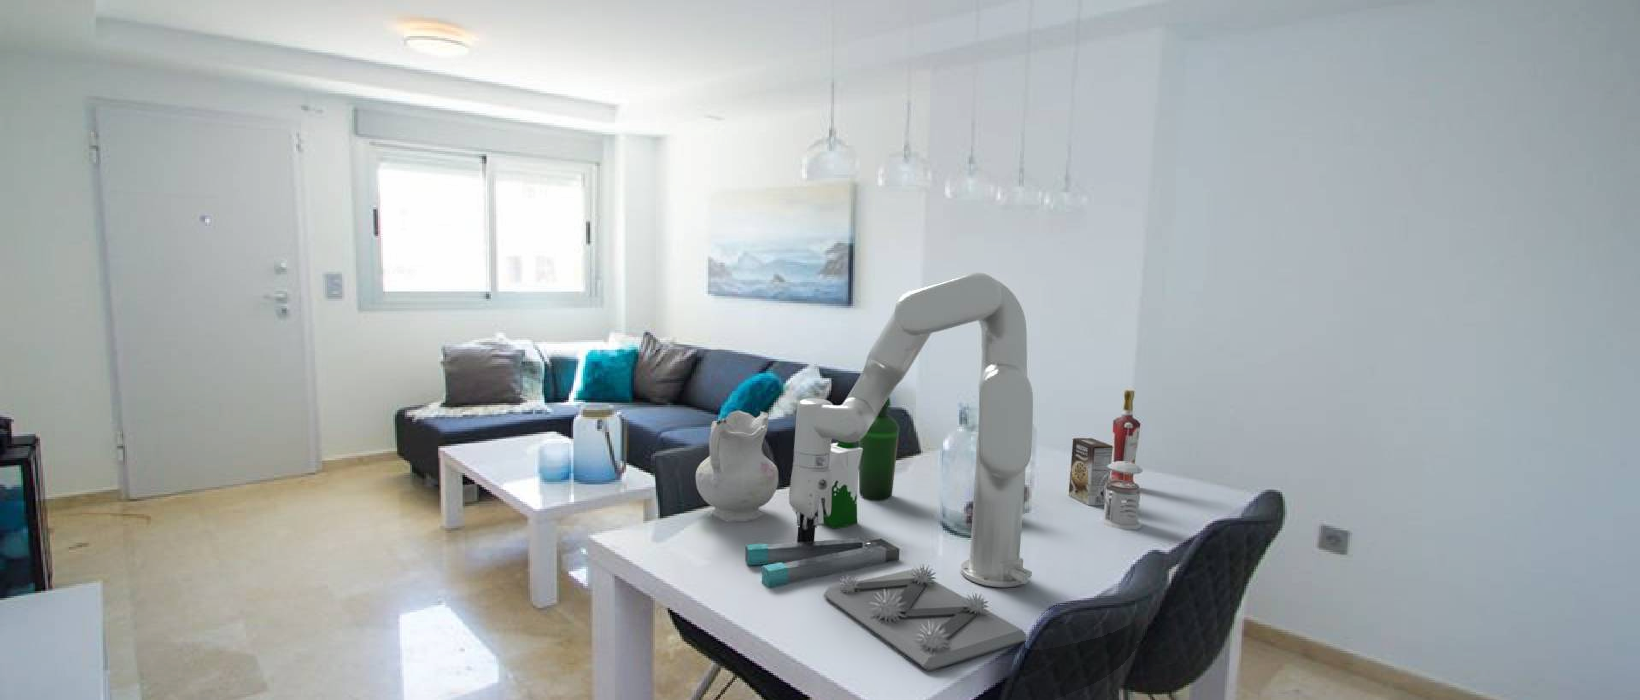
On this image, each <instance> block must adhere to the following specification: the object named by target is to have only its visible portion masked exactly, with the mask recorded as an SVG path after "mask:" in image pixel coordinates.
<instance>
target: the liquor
mask: <svg viewBox="0 0 1640 700" xmlns="http://www.w3.org/2000/svg"><path fill="white" fill-rule="evenodd" d="M1123 392H1124V393H1123V397H1124V398H1123V399H1124V401H1123V407H1122V413H1121V416H1119V417H1116V418H1115V419H1113V420H1112V446H1113V451H1112V462H1111V463H1113V462H1117V461H1125V456H1126V461H1127V462H1131V463H1133V464H1135V465H1136V460H1137V459H1136V458H1137V451H1138V444H1139V437H1140V430H1141V422H1140V421H1138V420H1137V419H1136V418H1134V409H1133V407H1134V406H1133V404H1134V402H1133V401H1134V398H1135V390H1132V389H1125V390H1124V391H1123ZM1126 423H1131V424H1132V425H1133V428H1129V432H1128V428H1126V427H1124V425H1125V424H1126ZM1127 433H1128V444H1127ZM1126 444H1127V455H1126ZM1134 475H1135V474H1127V473H1125V478H1124V473H1119V472H1115V471H1112V470H1111V472H1110V477H1111V476H1115V480H1120V481H1121V480H1123V479H1124V481H1127V482H1128V481H1129V482H1131V483H1135V482H1134ZM1110 479H1112V480H1114V477H1112V478H1110Z"/></svg>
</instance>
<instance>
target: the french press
mask: <svg viewBox="0 0 1640 700" xmlns="http://www.w3.org/2000/svg"><path fill="white" fill-rule="evenodd" d="M1124 427H1126V428H1128V432H1129V428H1133V425H1132V424H1131V423H1126V424H1125V425H1124ZM1127 444H1128V433H1127ZM1127 444H1126V455H1127ZM1107 467H1108V469H1110V470H1112V471H1115V472H1119V473H1124V478H1125V473H1127V474H1134V475H1136V474H1137V475H1138V474H1141V473H1142V472H1143V471H1144V470H1143V469H1142V468H1141V466H1139V465H1137V464H1136V463H1135V464H1133V463H1131V462H1127V461H1126V456H1125V461H1117V462H1113V463H1112V462H1111V464H1109V465H1108V466H1107ZM1107 475H1109V479H1110V478H1112V477H1114V480H1112V479H1110V481H1109V479H1108V481H1109V482H1108V481H1107V482H1108V484H1109V486H1108V487H1107V488H1106V496H1105V487H1106V485H1107V482H1106V484H1105V487H1104V498H1105V501H1103V500H1102V499H1101V495H1100V486H1101V483H1102V481H1103V479H1104V478H1105V477H1106V476H1107ZM1107 475H1105V476H1104V477H1103V479H1102V480H1101V483H1100V485H1099V496H1100V499H1101V500H1102V501H1103V502H1105V505H1104V511H1103V515H1102V516H1101V517H1100V518H1099V522H1100V523H1102V524H1103V525H1105V526H1108V527H1111V528H1116V529H1122V530H1137V529H1140V528H1141V527H1142V523H1140V521H1139V519H1138V517H1139V513H1140V511H1139V508H1140V501H1141V492H1140V491H1139V490H1138V489H1139V488H1140V486H1139V484H1137V483H1135V482H1134V483H1131V482H1129V481H1128V482H1127V481H1124V479H1123V480H1121V481H1120V480H1115V476H1111V473H1110V474H1107ZM1111 491H1112V492H1111ZM1122 501H1124V502H1122ZM1125 501H1126V502H1125ZM1109 506H1110V507H1109ZM1122 506H1125V507H1122ZM1123 511H1125V512H1123Z"/></svg>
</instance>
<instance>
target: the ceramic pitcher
mask: <svg viewBox="0 0 1640 700" xmlns="http://www.w3.org/2000/svg"><path fill="white" fill-rule="evenodd" d="M759 412H760V414H759V415H758V416H757V417H754V416H753V415H752V414H750V413H749V412H744V411H742V410H736V411H735V410H734V411H732V412H729V413H728V414H727V416H726V417H725V418H722V417H721V418H719V419H717V420H713V421H712V422H711V426H710V435H709V441H708V442H709V445H708V449H709V456H708V457H707V458H705V459H704V460H703V461H702V462H700V464H699V465H698V467H697V468H696V471H695V484H696V490H697V491H698V493H699V495H700V496H701V498H702V499H703V501H705V502H706V503H707V504H708V505H709V506H711V507H713V508H714V509H713V510H712V511H711V512H712V516H713V518H715V519H716V520H720V521H727V522H730V523H738V522H748V521H749V522H750V521H754V520H755V519H757V518H759V517H760V516H761V514H762V513H763V510H761V508H760V507H763V506H765V505H766V504H767V503H769V502H770V501H771V499H772V498H773V496H774V495H775V493H776V491H777V488H778V484H779V469H778V468H777V465H775V464H774V462H773V461H771V460H770V459H769V458H768V457H767V456H765V454H764V451H763V449H762V446H763V442H764V439H765V436H766V434H767V432H768V426H769V416H768V415H769V413H768V412H765V411H761V410H760V411H759Z"/></svg>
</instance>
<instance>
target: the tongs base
mask: <svg viewBox="0 0 1640 700" xmlns="http://www.w3.org/2000/svg"><path fill="white" fill-rule="evenodd" d="M870 541H874V542H876V543H877V547H872V548H868V547H865V546H864V547H863V548H859V549H854V550H849V551H843V552H838V553H833V554H828V555H823V556H818V557H813V558H808V559H802V560H797V561H792V562H780V563H768V564H763V565H761V567H762V568H761V583H762V584H763V585H765V586H766V587H767V588H769V589H770V588H775V587H781V586H785V585H788V584H790V583H795V582H801V581H806V580H811V579H815V578H819V577H825V576H828V575H829V576H830V575H833V574H838V573H842V572H848V571H853V570H858V569H861V568H865V567H870V566H871V567H872V566H875V565H880V564H886V563H890V562H895V561H899V560H900V548H899V547H898V546H895V545H894V544H892V543H890V542H889V541H887V540H885V539H883V538H877V539H870Z"/></svg>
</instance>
